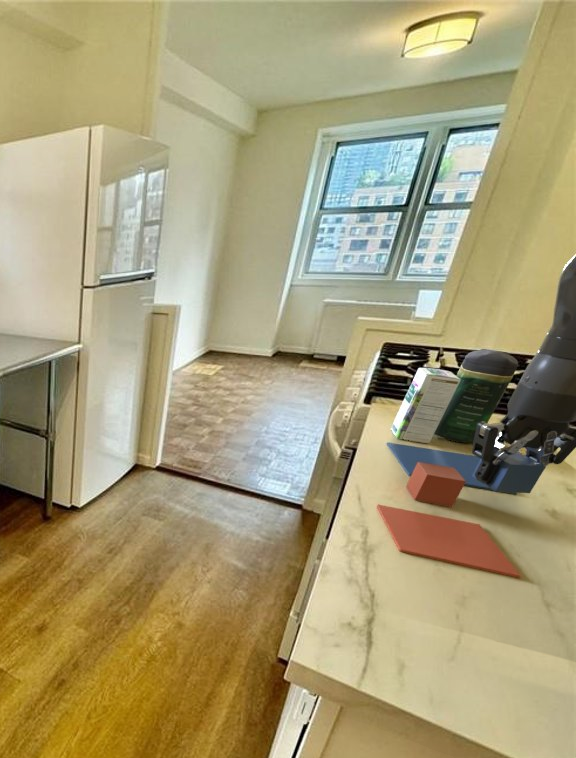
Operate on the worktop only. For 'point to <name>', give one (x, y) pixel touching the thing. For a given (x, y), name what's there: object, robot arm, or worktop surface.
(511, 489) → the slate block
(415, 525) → the terracotta mat
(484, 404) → the coffee jar
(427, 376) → the syrup box
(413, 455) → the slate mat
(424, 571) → the worktop surface
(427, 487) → the terracotta block
